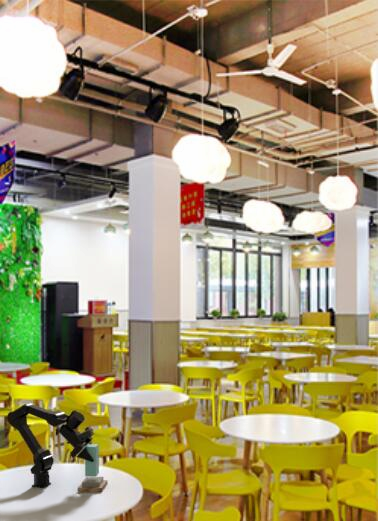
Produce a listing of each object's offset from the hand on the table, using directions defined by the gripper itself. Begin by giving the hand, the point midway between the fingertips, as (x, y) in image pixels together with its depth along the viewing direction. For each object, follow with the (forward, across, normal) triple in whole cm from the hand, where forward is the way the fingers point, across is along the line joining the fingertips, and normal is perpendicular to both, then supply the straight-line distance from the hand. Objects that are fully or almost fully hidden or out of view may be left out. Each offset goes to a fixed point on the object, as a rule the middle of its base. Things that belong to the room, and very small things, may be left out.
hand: (94, 459), depth 264 cm
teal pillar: (+4, 0, +6) cm, 7 cm away
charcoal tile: (+7, 0, +8) cm, 11 cm away
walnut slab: (+9, 0, +10) cm, 13 cm away
